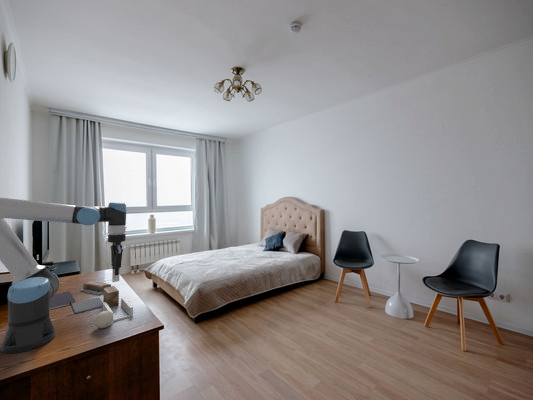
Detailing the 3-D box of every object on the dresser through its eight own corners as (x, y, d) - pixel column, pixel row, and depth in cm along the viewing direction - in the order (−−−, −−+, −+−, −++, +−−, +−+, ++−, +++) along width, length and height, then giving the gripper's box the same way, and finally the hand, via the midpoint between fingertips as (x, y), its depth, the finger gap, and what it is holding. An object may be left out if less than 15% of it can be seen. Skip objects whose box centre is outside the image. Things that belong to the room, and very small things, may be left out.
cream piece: (95, 325, 109) (95, 309, 109) (114, 322, 111) (114, 307, 111) (91, 332, 102) (91, 316, 102) (111, 329, 105) (111, 313, 105)
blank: (107, 308, 125) (107, 293, 125) (103, 302, 132) (103, 288, 132) (118, 306, 128) (118, 290, 128) (114, 300, 135) (114, 285, 135)
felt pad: (75, 313, 119) (75, 312, 119) (71, 304, 129) (71, 303, 129) (104, 306, 127) (104, 305, 127) (98, 298, 137) (98, 297, 137)
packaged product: (79, 283, 149) (95, 278, 158) (79, 291, 149) (95, 286, 158) (99, 287, 142) (115, 282, 151) (99, 296, 142) (115, 290, 151)
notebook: (40, 300, 136) (44, 312, 122) (40, 297, 136) (44, 309, 122) (69, 293, 146) (76, 304, 131) (69, 291, 146) (76, 301, 131)
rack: (110, 322, 111) (110, 313, 111) (102, 310, 123) (102, 302, 123) (133, 316, 117) (133, 307, 117) (123, 305, 129) (123, 297, 129)
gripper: (129, 234, 119) (128, 282, 119) (121, 231, 129) (120, 276, 129) (111, 235, 114) (110, 286, 114) (105, 232, 124) (103, 279, 123)
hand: (115, 281), depth 121 cm, fingers closed
